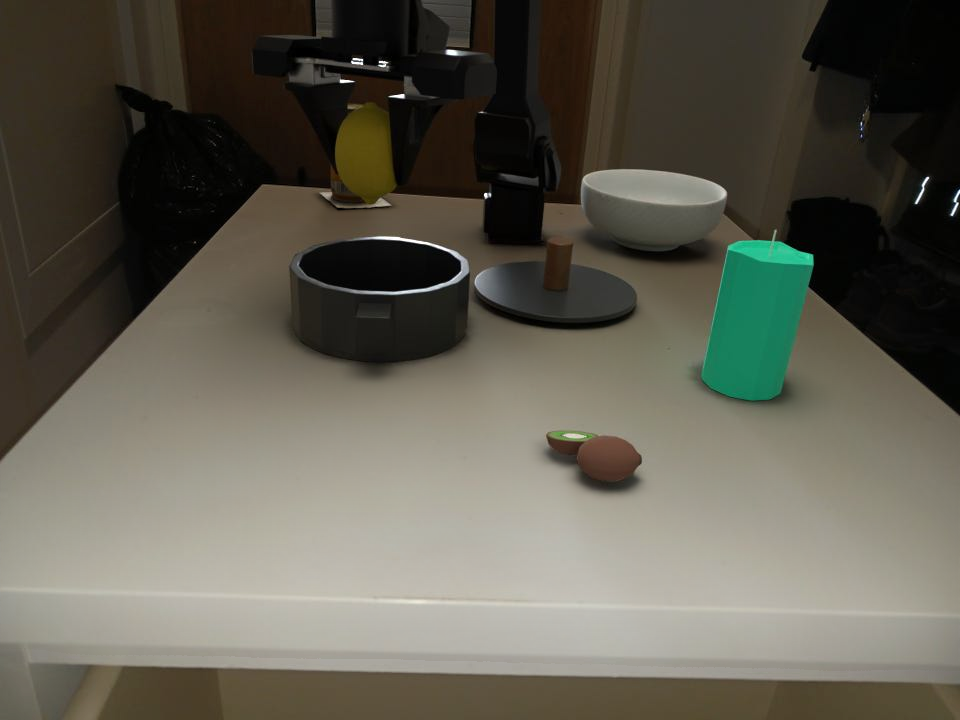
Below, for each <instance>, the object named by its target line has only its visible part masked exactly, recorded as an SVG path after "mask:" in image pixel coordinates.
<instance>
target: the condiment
mask: <svg viewBox="0 0 960 720" xmlns="http://www.w3.org/2000/svg"><path fill="white" fill-rule="evenodd" d="M364 105H365V104H360V103H348V115H349V114H350V113H351V112H353V111H354V110H356V109H358V108H361V107H363V106H364ZM320 195H322V197H324V199H326V200H327V201H328V202H330V203H331V204H332V205H333V206H335V207H336V208H342V209H354V208H355V209H363V208H368V209H370V208H375V207H377V208H380V207H381V208H382V207H389V206H390V207H391V206H392V204H390V202H388V201H387V200H385V199H384V198H382V197H381V198H380V199H379V200H378V201H377V202H376V203H375V204H372V205H370V204H367V203H366V202H365V201H364V200H363V199H362V197H360V196H359V195H356V194H354V193H353V192H351V191H350V190H349V189H348V188H347V187H346V186H345V184H344V183H343V182H342V180H341V178H340V176H339V175H336V173H335V172H334V170H333V168H332V165H331V164H330V191H324V192H323V191H322V192H320Z"/></svg>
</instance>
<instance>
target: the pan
mask: <svg viewBox="0 0 960 720" xmlns="http://www.w3.org/2000/svg"><path fill="white" fill-rule="evenodd" d="M288 270H289V289H290V307H291V308H290V309H291V323H292V325H293V329H294V330H293V331H294V333H295V335H296V336H297V338H298V340H300V342H302V343H304V344H305V345H306V346H308V347H310V348H311V349H313V350H314V351H315V350H316V351H318V352H320V353H323V354H326V355H329V356H333V357H337V358H340V359H346V360H351V361H362V362H376V363H377V362H378V363H379V362H383V363H384V362H386V363H387V362H390V363H391V362H401V361H402V362H403V361H411V360H417V359H421V358H422V359H423V358H426V357H430V356H434V355H438V354H440V353H442V352H445V351H448V350H449V349H451V348H452V347H454V346H456V345H457V344H458V343H459V342H461V341H462V339H463V338H464V337H465V334H466V331H467V329H468V321H469V320H468V319H469V318H468V317H469V302H470V301H469V298H470V285H471V284H470V283H471V282H470V281H471V269H470V262H469V260H468V259H466V258H465V257H464V256H463V255H461V254H460V253H458V251H455V250H453V249H450V248H447V247H445V246H441V245H438V244H435V243H433V242H427V241H422V240H415V239H408V238H404V237H403V238H401V237H400V236H382V235H381V236H379V235H378V236H377V235H375V236H368V237H354V238H344V239H343V238H341V239H336V240H331V241H327V242H322V243H317V244H313V245H311V246H309V247H307V248H305V249H303V250H301V251H298V252H297V253H295V254H294V256H293V258H292V259H291V262H290V263H289V266H288Z"/></svg>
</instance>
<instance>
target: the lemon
mask: <svg viewBox="0 0 960 720" xmlns="http://www.w3.org/2000/svg"><path fill="white" fill-rule="evenodd" d="M363 105H364V106H363V107H361V108H358V109H356V110H354V111H353V112H351V113H350V114H349V115H348V116H347V117H346V118H345V119H344V120H343V122H342V124H341V126H340V128H339V131H338V135H337V139H336V146H335V160H336V166H337V170H338V174H339V176H340V178H341V180H342V182H343V183H344V184H345V186H346V187H347V188H348V189H349V190H350V191H351V192H353V193H354V194H356V195H359V196H360V197H362V199H363V200H364V201H365V202H366V203H367V204H370V205H372V204H375V203H376V202H377V201H378V200H379V199H380V198H382V197H384V196H387V195H389V194H390V193H391V192H393V191H394V190H395V189H396V188H397V187H398V186H397V184H396V180H395V175H394V170H393V159H392V146H391V133H390V121H389V111H386V110H385V109H383V108H380V107H379V106H378V105H377V104H376V102H372V101H368V102H367V101H366V102H365V103H364V104H363Z"/></svg>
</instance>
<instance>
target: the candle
mask: <svg viewBox="0 0 960 720" xmlns="http://www.w3.org/2000/svg"><path fill="white" fill-rule="evenodd" d="M777 232H778V229H774V231H773V234H772V240H760V239H756V240H752V239H751V240H738V241H736V242H734V243H731V244H729V245H728V246H727V249H726V254H725V259H724V264H723V269H722V274H721V278H720V279H721V280H720V284H719V289H718V293H717V297H716V303H715V308H714V313H713V318H712V323H711V326H710V327H711V328H710V333H709V335H708V336H709V337H708V341H707V347H706V352H705V357H704V361H703V366H702V370H701V381H703V382H704V384H706V385H707V386H708V387H709V388H710V389H711V390H713V391H716V392H718V393H720V394H723V395H725V396H727V397H731V398H735V399H741V400H744V401H745V400H746V401H750V402H751V401H770V400H772V399H774V398H775V397H777V396H779V395H781V394H782V389H783V386H784V383H785V378H786V374H787V370H788V366H789V363H790V358H791V355H792V351H793V347H794V343H795V338H796V335H797V331H798V327H799V324H800V320H801V316H802V312H803V309H804V306H805V305H804V304H805V300H806V296H807V293H808V289H809V285H810V281H811V278H812V274H813V269H814V266H815V265H814V254H811V253H808V252H804V251H799V250H798V249H796V248H793V247H791V246H790V245H788V244H786V243H784V242H783V241H775V240H776V235H777Z"/></svg>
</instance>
